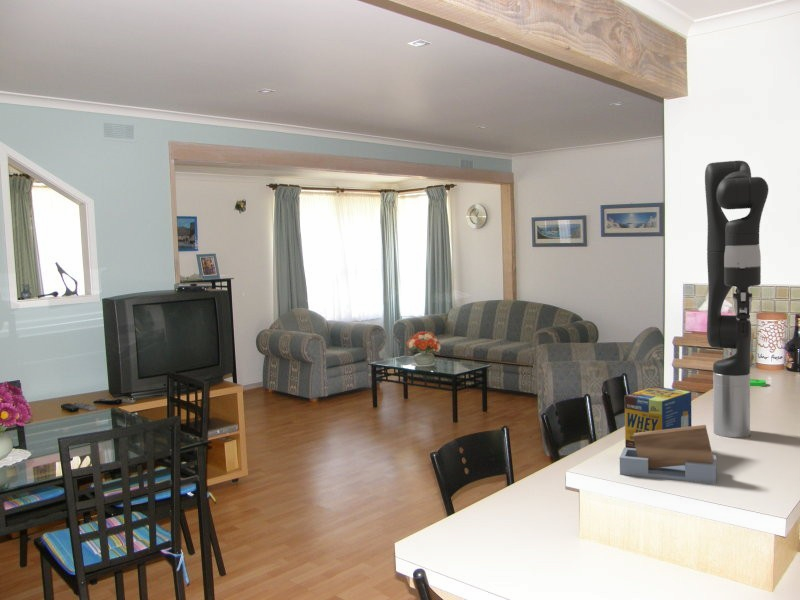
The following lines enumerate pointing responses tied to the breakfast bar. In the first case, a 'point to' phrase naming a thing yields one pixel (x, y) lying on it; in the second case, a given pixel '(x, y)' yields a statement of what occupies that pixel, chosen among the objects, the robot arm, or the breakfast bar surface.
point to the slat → (674, 446)
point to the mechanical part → (757, 382)
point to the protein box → (656, 411)
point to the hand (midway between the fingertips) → (742, 334)
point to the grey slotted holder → (667, 469)
